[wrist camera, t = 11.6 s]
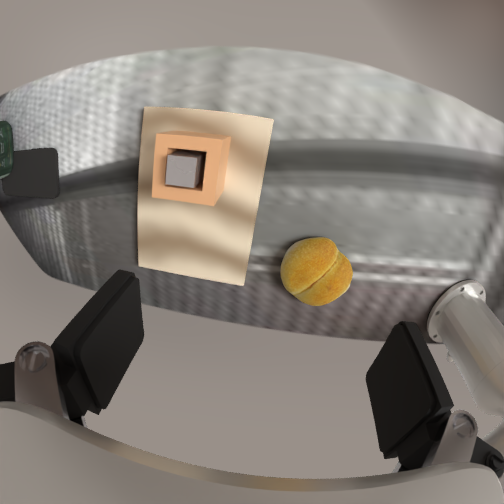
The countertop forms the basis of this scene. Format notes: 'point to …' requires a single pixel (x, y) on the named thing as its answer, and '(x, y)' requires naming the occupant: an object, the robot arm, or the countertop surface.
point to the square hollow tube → (214, 166)
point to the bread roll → (315, 271)
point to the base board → (198, 215)
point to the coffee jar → (6, 149)
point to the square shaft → (185, 168)
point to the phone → (33, 174)
